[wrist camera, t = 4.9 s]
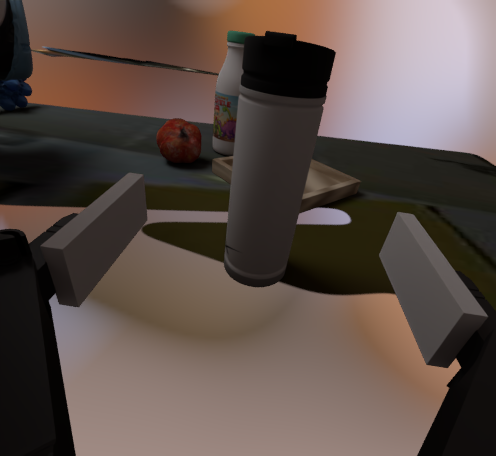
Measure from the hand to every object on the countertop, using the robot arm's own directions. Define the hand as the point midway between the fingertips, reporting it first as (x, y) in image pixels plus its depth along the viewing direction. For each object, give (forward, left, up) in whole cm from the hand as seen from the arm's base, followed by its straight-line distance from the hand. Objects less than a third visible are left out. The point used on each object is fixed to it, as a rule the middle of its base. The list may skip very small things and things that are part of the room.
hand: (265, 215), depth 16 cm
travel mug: (+7, +7, -12) cm, 16 cm away
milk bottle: (+26, +37, -12) cm, 47 cm away
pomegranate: (+14, +36, -12) cm, 40 cm away
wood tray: (+25, +21, -12) cm, 35 cm away
